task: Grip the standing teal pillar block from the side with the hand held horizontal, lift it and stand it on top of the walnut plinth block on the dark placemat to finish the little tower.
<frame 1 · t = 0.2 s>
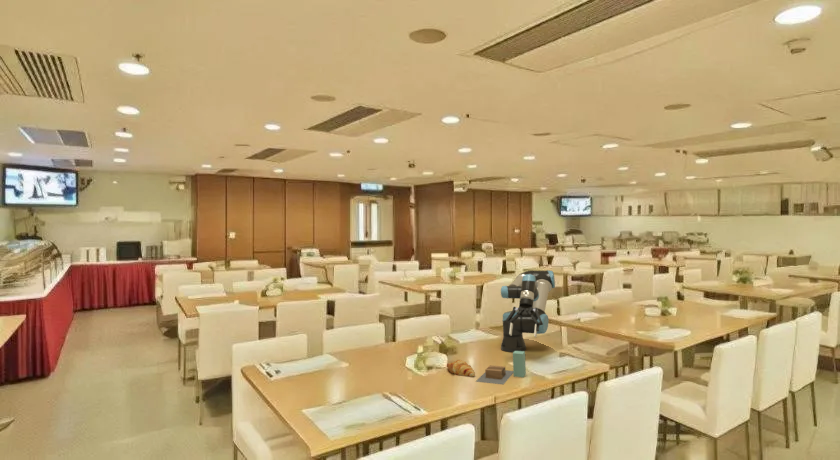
hand: (522, 335, 253), 15 cm above the table, tool tilted 35°, fingers open, 13 cm apart
croissant: (460, 374, 241), on the table
plinth: (495, 372, 233), on the placemat
pillar: (519, 376, 233), on the table
placemat: (495, 376, 233), on the table
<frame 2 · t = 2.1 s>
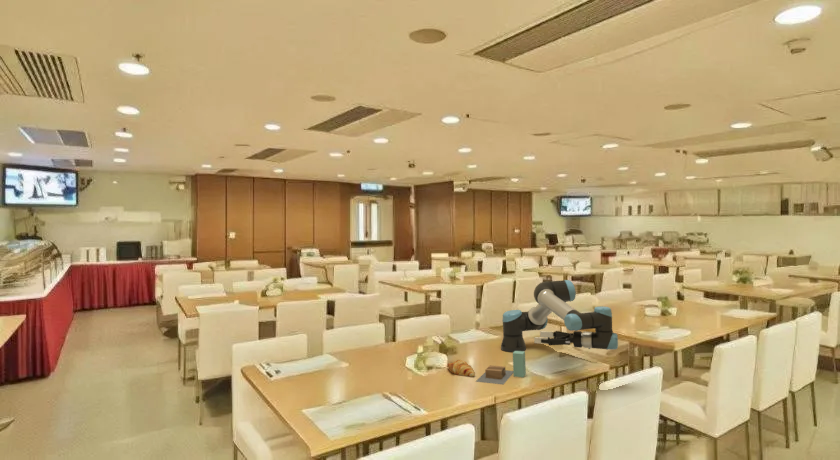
hand: (537, 337, 228), 20 cm above the table, tool horizontal, fingers open, 13 cm apart
nothing on the table moved.
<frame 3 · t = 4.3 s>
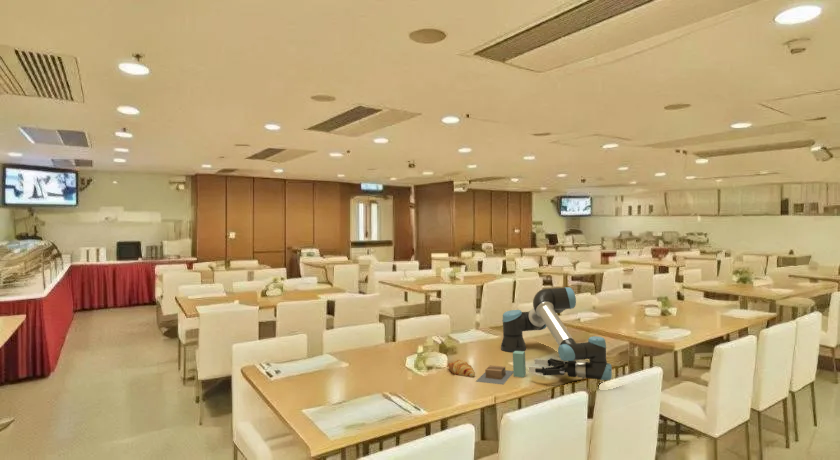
hand: (531, 365, 229), 6 cm above the table, tool horizontal, fingers open, 13 cm apart
nothing on the table moved.
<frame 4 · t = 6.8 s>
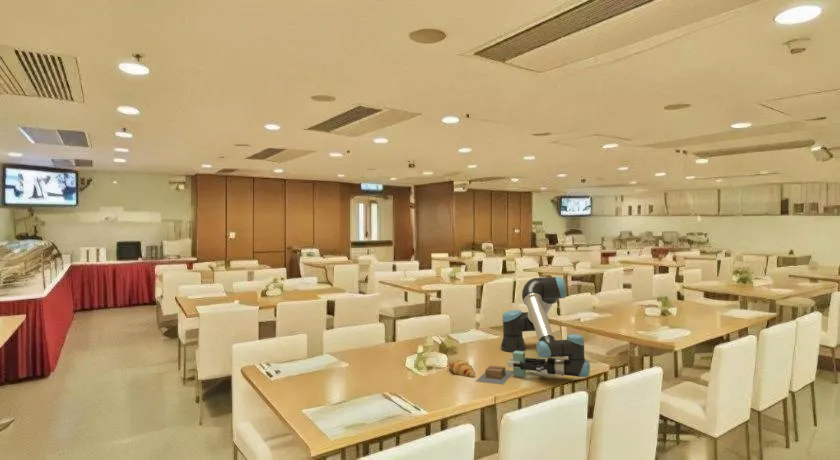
hand: (509, 362, 235), 7 cm above the table, tool horizontal, fingers closed on pillar, 5 cm apart
pillar: (519, 376, 233), on the table, touching gripper
everything else where it was.
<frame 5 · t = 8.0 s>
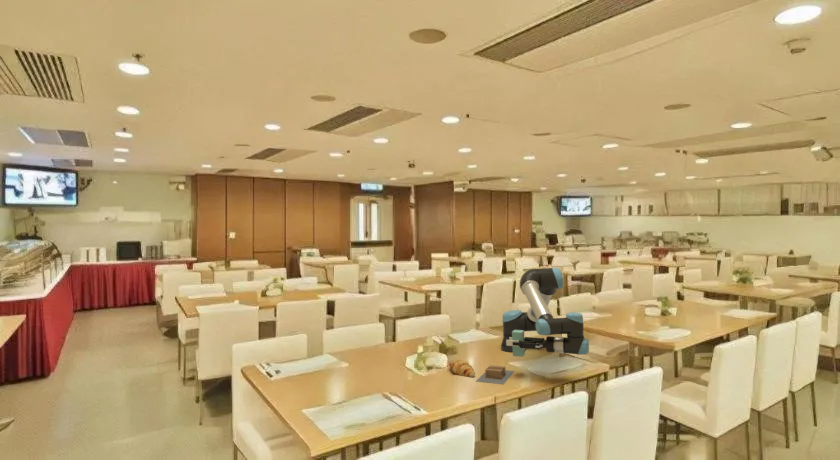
hand: (508, 341, 235), 17 cm above the table, tool horizontal, fingers closed on pillar, 5 cm apart
pillar: (518, 354, 233), point 11 cm above the table, touching gripper
everything else where it was.
when the fingers open (12 cm above the table, at t = 10.5 s): pillar drops 2 cm, resting on plinth.
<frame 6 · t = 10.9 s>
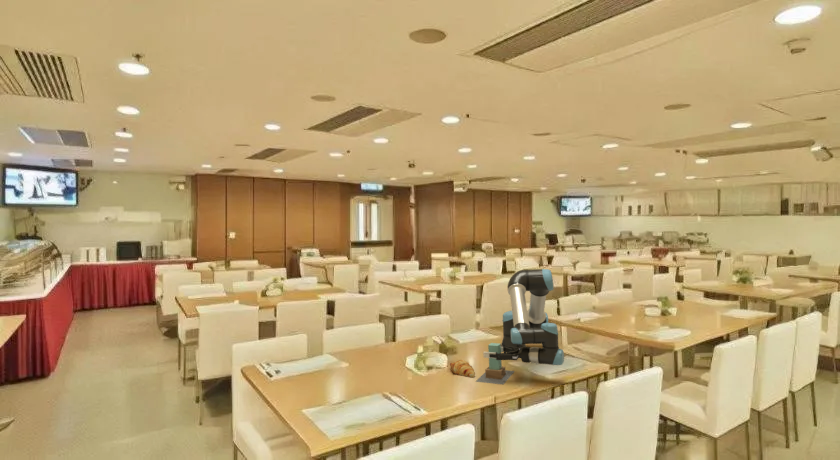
hand: (487, 351, 235), 12 cm above the table, tool horizontal, fingers open, 11 cm apart
plinth: (495, 372, 233), on the placemat, touching pillar
pillar: (495, 368, 233), point 4 cm above the table, touching plinth
everything else where it was.
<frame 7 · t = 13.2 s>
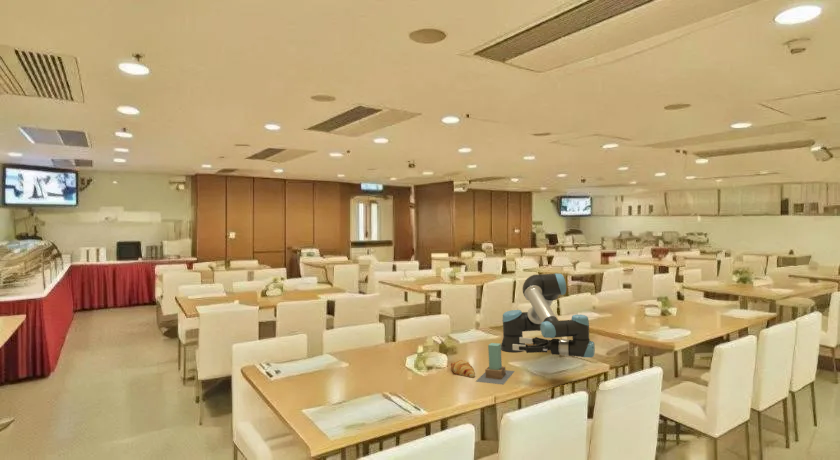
hand: (516, 343, 231), 17 cm above the table, tool horizontal, fingers open, 13 cm apart
nothing on the table moved.
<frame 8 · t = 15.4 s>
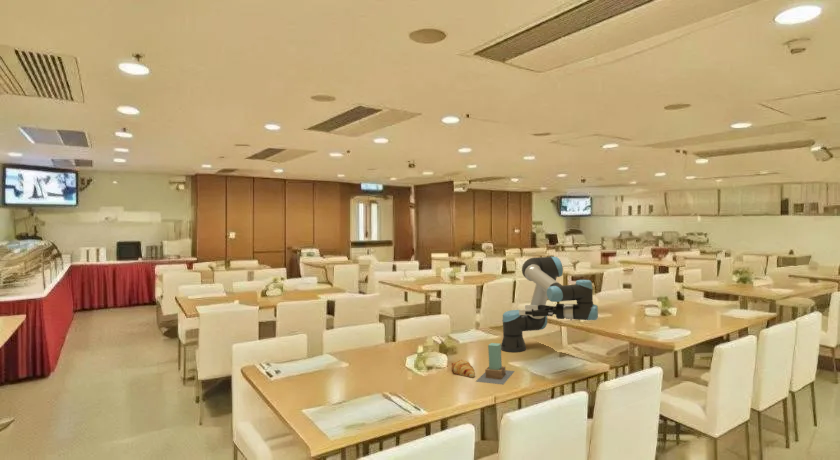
hand: (522, 309, 240), 32 cm above the table, tool horizontal, fingers open, 13 cm apart
at the end: pillar 0.1 cm off-centre on the plinth, point 4.0 cm above the plinth's base; pillar tilted 0°; the gripper is holding nothing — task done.
